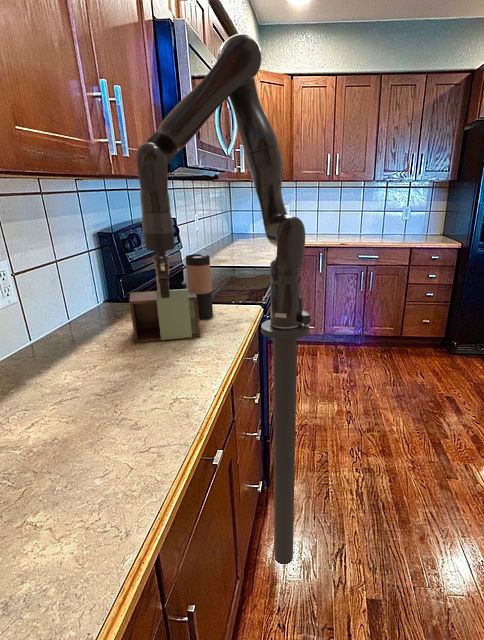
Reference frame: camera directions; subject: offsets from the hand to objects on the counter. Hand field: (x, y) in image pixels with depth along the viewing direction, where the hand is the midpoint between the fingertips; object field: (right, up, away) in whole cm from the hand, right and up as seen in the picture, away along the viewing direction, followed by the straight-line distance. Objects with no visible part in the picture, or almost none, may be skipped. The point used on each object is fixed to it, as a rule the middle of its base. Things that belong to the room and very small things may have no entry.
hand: (165, 295), depth 115 cm
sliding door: (+2, -11, +5) cm, 13 cm away
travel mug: (+5, -3, +26) cm, 27 cm away
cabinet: (-2, -10, +10) cm, 14 cm away
